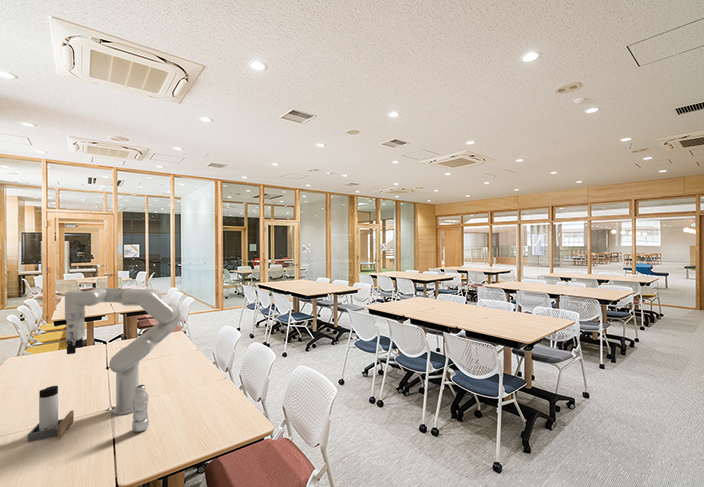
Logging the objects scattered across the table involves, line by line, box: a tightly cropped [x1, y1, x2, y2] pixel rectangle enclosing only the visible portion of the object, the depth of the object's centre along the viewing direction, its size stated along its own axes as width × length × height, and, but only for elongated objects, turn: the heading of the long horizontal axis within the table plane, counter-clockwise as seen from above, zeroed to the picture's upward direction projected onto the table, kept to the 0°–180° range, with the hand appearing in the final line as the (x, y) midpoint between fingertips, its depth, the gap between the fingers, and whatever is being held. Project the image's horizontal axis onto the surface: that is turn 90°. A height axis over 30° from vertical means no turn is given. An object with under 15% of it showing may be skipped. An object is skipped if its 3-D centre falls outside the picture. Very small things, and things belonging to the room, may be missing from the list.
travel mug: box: [38, 385, 59, 432], centre depth 147 cm, size 6×7×20 cm
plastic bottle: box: [131, 384, 150, 433], centre depth 149 cm, size 6×7×20 cm
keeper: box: [27, 418, 64, 443], centre depth 147 cm, size 11×10×3 cm
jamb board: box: [57, 410, 75, 441], centre depth 149 cm, size 1×14×6 cm, turn 23°
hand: (75, 350), depth 161 cm, fingers open, 9 cm apart
